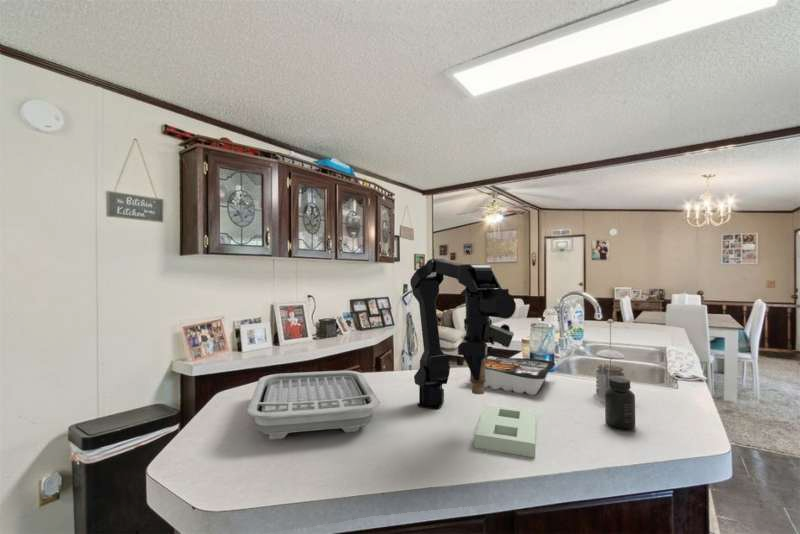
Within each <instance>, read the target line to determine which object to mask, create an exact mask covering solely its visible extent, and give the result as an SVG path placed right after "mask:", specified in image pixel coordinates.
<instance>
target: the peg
mask: <svg viewBox="0 0 800 534" xmlns="http://www.w3.org/2000/svg"><path fill="white" fill-rule="evenodd" d="M469 372H470V379H469V381H470V382H471V394H474V395H484V394H485V387H484V382H486V380H485V358H484V359H483V360H482V366H481V372H480V378H479V380H478V381H477V380H474V378H473V376H472V373H471V371H470V370H469Z"/></svg>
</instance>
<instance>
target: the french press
mask: <svg viewBox="0 0 800 534" xmlns="http://www.w3.org/2000/svg"><path fill="white" fill-rule="evenodd" d="M606 322H607V324H609V349H602V350H598V351H597V352H596V353H595V355H596V356H597V357H598V358H602V359H606V360H608V359H609V364H606V362H605V361H604V360H603V363H602V364H599V365H597V368H598V369H597V370H595V372H596V373H595V374H596V376H595V378H596V384H595V387H596V388H595V390H596V391H595V393H594V394H593V395H592V398H594V399H595V400H597V401H599V402H603V403H605V391H606V389H608V388H610V386H609V378H624V379H626V378H625V372H623V371H624V368H623V367H621V366H617V365H612V363H611V360H623V359H625V358H626V356H625V355H624V354H623V353H621V352H619V351H617V350H615V349H614V350H613V349H611V348H612V346H611V345H612V324H614V323H615V321H614V319H612V318H609V319H608V320H607V321H606Z"/></svg>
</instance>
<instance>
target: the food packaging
mask: <svg viewBox="0 0 800 534" xmlns="http://www.w3.org/2000/svg"><path fill="white" fill-rule="evenodd" d="M555 364H556V362H553V361H550V360H546V359H540V358H539V359H538V358H525V357H524V358H518V357H517V358H516V357H515V358H514V357H501V356H494V355H490V354H488V355H487V356H486V358H485V380H486V382H484V388H489V387H490V388H491V389H493V388H494V389H495V390H499V389H502V390H503V389H504V390H503V391H507V392H508V391H509V392H511V391H514V393H519V394H523V393H526V394H528V395H534V396H535V395H536V394H537V393H538V391H539V390H540V389H541V387H542V385H543V384H544V382H545V381H546V379H547V377H548V375H549V372H550V371H551V370H552V369H553V368H554V367H555ZM468 369H469V367H468Z"/></svg>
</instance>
